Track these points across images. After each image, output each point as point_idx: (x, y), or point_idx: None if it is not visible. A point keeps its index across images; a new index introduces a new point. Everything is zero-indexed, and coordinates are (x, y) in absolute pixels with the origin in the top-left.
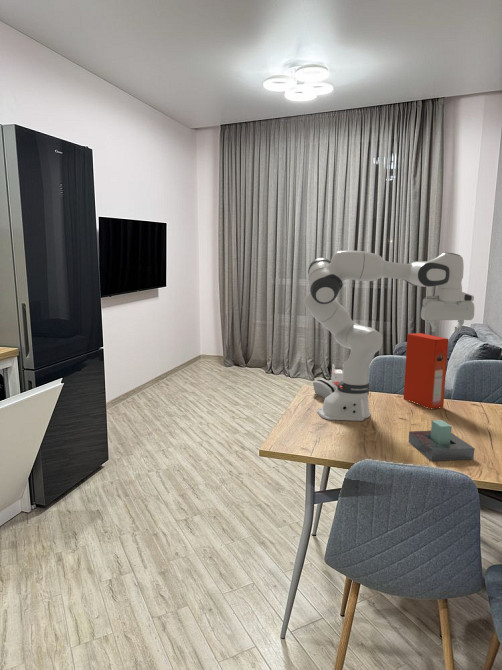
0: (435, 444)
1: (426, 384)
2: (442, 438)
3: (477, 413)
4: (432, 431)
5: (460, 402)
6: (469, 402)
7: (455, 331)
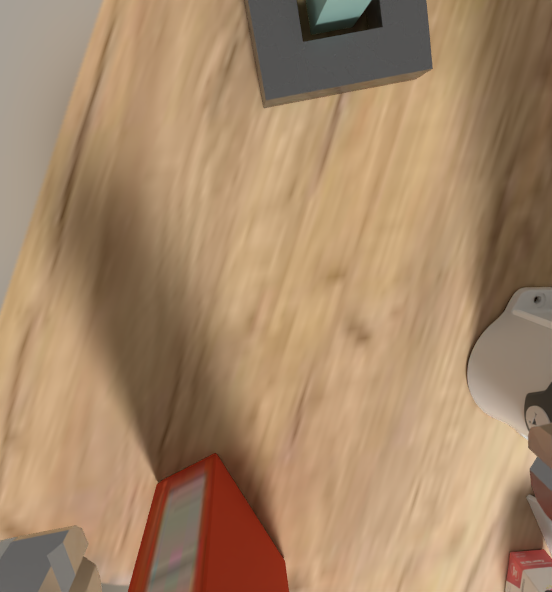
0: None
1: (229, 546)
2: None
3: (37, 433)
4: None
5: None
6: None
7: (91, 563)
